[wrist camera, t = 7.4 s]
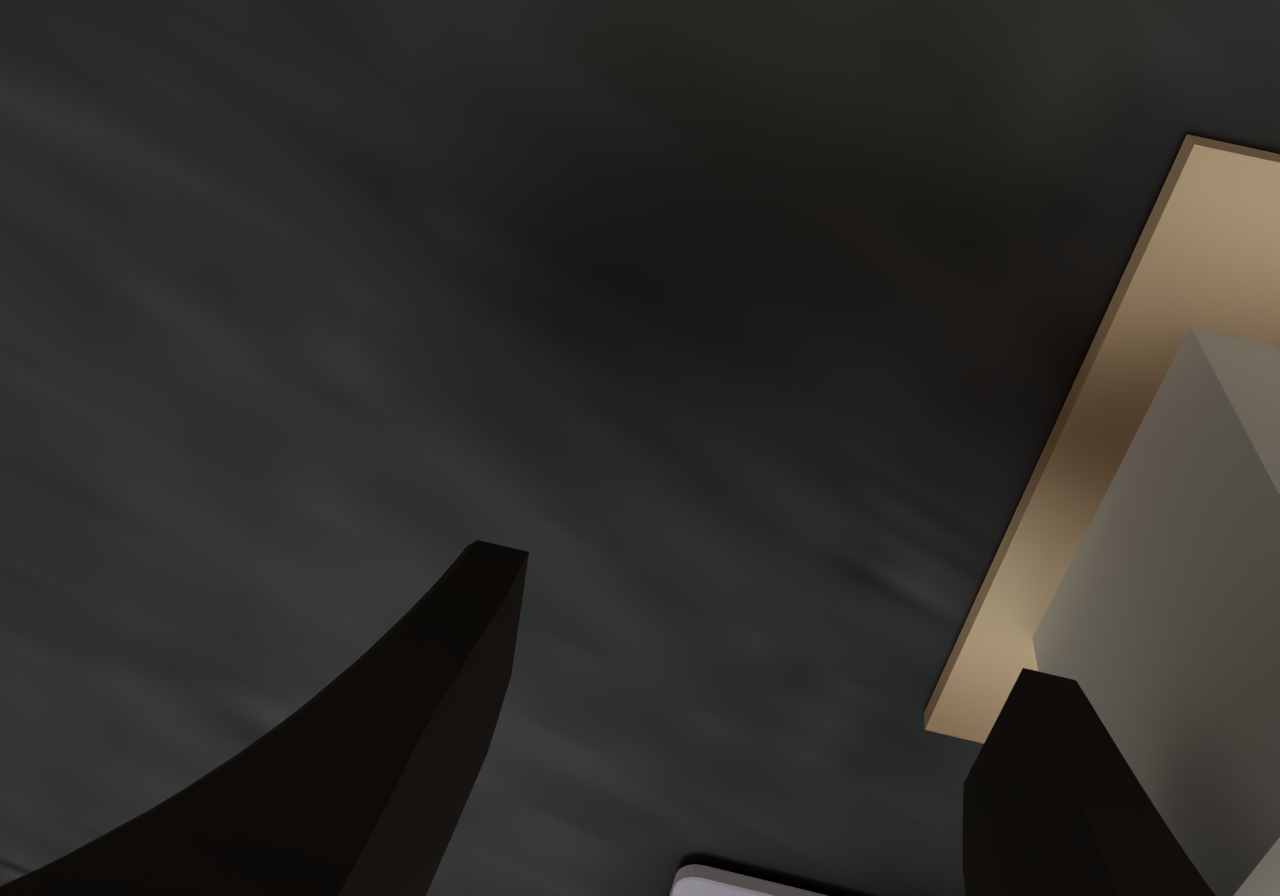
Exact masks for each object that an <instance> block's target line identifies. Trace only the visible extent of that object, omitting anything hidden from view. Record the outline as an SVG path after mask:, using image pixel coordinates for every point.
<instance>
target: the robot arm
mask: <svg viewBox="0 0 1280 896" xmlns="http://www.w3.org/2000/svg"><path fill="white" fill-rule="evenodd" d="M528 554H529V552H526V551H522V550H517V549H513V548H509V547H505V546H500V545H496V544H492V543H488V542H483V541H479V540H477V541H475V542H474V543H472V544H470V545H468V546H467V547H466V548H465V549H464V551H463V552H462V553H461V554H460V556H459V557H458V558H457V559H456V560H455V562H454V563H453V564H452V565H451V566H450V567H449V569H448V570H447V571H446V572H445V573H444V574H443V575H442V577H441V578H440V579H439V580H438V581H437V582H436V583H435V584H434V585H433V586H432V588H431V589H430V590H429V591H428V592H427V593H426V594H425V595H424V596H423V597H422V598H421V599H420V600H419V601H418V602H417V603H416V604H415V605H414V606H413V607H412V608H411V610H410V611H409V612H408V613H407V614H406V615H405V616H403V617H402V618H401V619H400V620H399V621H398V622H397V623H396V624H395V625H394V626H393V627H392V628H391V629H390V630H389V631H388V632H387V633H386V634H385V635H384V636H383V637H382V638H381V639H379V640H378V641H377V642H376V643H375V644H374V645H373V646H372V647H371V648H370V649H369V650H368V651H367V652H366V653H365V654H364V655H362V656H361V657H360V658H359V659H358V660H357V661H356V662H355V663H353V664H352V665H351V666H350V667H349V668H348V669H346V670H345V671H344V672H343V673H342V674H340V675H339V676H338V677H337V678H336V679H335V680H333V681H332V682H331V683H330V684H329V685H328V686H326V687H325V688H324V689H323V690H322V691H320V692H319V693H318V694H317V695H316V696H315V697H313V698H312V699H311V700H310V701H309V702H307V703H306V704H305V705H304V706H302V707H301V708H300V709H298V710H297V711H296V712H295V713H293V714H292V715H291V716H289V717H288V718H287V719H286V720H284V721H283V722H282V723H280V724H279V725H278V726H276V727H275V728H274V729H272V730H271V731H270V732H268V733H267V734H265V735H264V736H263V737H261V738H260V739H258V740H257V741H256V742H254V743H253V744H251V745H250V746H249V747H247V748H246V749H244V750H243V751H242V752H240V753H239V754H237V755H236V756H234V757H233V758H231V759H230V760H228V761H227V762H225V763H224V764H222V765H221V766H219V767H217V768H216V769H214V770H213V771H211V772H210V773H208V774H207V775H205V776H204V777H202V778H201V779H199V780H197V781H196V782H194V783H193V784H191V785H190V786H188V787H187V788H185V789H184V790H182V791H180V792H179V793H177V794H175V795H174V796H172V797H170V798H169V799H167V800H165V801H164V802H162V803H160V804H159V805H157V806H155V807H154V808H152V809H150V810H149V811H147V812H145V813H143V814H141V815H139V816H138V817H136V818H134V819H132V820H130V821H128V822H127V823H125V824H123V825H121V826H119V827H117V828H115V829H114V830H112V831H110V832H108V833H106V834H104V835H103V836H101V837H99V838H97V839H95V840H93V841H92V842H90V843H88V844H86V845H84V846H82V847H81V848H79V849H77V850H75V851H73V852H71V853H69V854H68V855H66V856H64V857H62V858H60V859H58V860H56V861H54V862H52V863H50V864H48V865H45V866H43V867H41V868H39V869H37V870H35V871H33V872H30V873H28V874H26V875H24V876H22V877H20V878H17V879H15V880H13V881H11V882H9V883H6V884H4V885H2V886H0V896H426V894H427V892H428V889H429V887H430V885H431V882H432V880H433V878H434V875H435V873H436V871H437V869H438V866H439V864H440V862H441V859H442V857H443V855H444V852H445V850H446V848H447V846H448V843H449V841H450V839H451V836H452V834H453V832H454V829H455V827H456V825H457V823H458V820H459V818H460V816H461V813H462V811H463V809H464V806H465V804H466V802H467V799H468V797H469V795H470V792H471V790H472V788H473V785H474V783H475V781H476V779H477V776H478V774H479V772H480V769H481V767H482V764H483V762H484V760H485V757H486V755H487V752H488V749H489V746H490V743H491V740H492V736H493V733H494V730H495V727H496V724H497V720H498V717H499V714H500V711H501V707H502V704H503V701H504V697H505V694H506V691H507V687H508V684H509V681H510V678H511V673H512V666H513V659H514V652H515V645H516V638H517V631H518V624H519V617H520V610H521V603H522V596H523V589H524V582H525V575H526V568H527V561H528ZM963 875H964V884H965V893H966V896H1216V895H1215V894H1214V893H1213V891H1212V890H1211V888H1210V887H1209V886H1208V884H1207V883H1206V882H1205V880H1204V879H1203V877H1202V876H1201V874H1200V873H1199V872H1198V870H1197V869H1196V867H1195V866H1194V864H1193V863H1192V862H1191V860H1190V859H1189V857H1188V856H1187V854H1186V853H1185V851H1184V850H1183V848H1182V847H1181V845H1180V844H1179V843H1178V841H1177V840H1176V838H1175V837H1174V835H1173V834H1172V832H1171V831H1170V829H1169V828H1168V826H1167V824H1166V823H1165V821H1164V820H1163V818H1162V817H1161V815H1160V814H1159V812H1158V811H1157V809H1156V808H1155V806H1154V805H1153V803H1152V801H1151V800H1150V798H1149V797H1148V795H1147V794H1146V792H1145V790H1144V789H1143V787H1142V786H1141V784H1140V783H1139V781H1138V779H1137V778H1136V776H1135V775H1134V773H1133V771H1132V770H1131V768H1130V767H1129V765H1128V763H1127V762H1126V760H1125V758H1124V757H1123V755H1122V754H1121V752H1120V750H1119V749H1118V747H1117V746H1116V744H1115V742H1114V741H1113V739H1112V737H1111V736H1110V734H1109V732H1108V731H1107V729H1106V727H1105V726H1104V724H1103V723H1102V721H1101V719H1100V718H1099V716H1098V714H1097V713H1096V711H1095V709H1094V708H1093V706H1092V705H1091V703H1090V701H1089V700H1088V698H1087V696H1086V695H1085V693H1084V692H1083V690H1082V689H1081V687H1080V685H1079V684H1078V682H1077V681H1076V680H1073V679H1069V678H1064V677H1060V676H1056V675H1052V674H1047V673H1043V672H1039V671H1035V670H1030V669H1026V668H1023V669H1022V671H1021V672H1020V674H1019V676H1018V678H1017V680H1016V682H1015V684H1014V686H1013V688H1012V690H1011V692H1010V694H1009V696H1008V698H1007V700H1006V702H1005V704H1004V706H1003V708H1002V710H1001V712H1000V714H999V716H998V718H997V720H996V721H995V723H994V725H993V727H992V729H991V731H990V733H989V735H988V737H987V739H986V741H985V743H984V745H983V747H982V749H981V751H980V753H979V755H978V757H977V759H976V761H975V763H974V765H973V767H972V768H971V770H970V772H969V774H968V776H967V778H966V780H965V782H964V793H963ZM669 896H828V895H824V894H820V893H816V892H812V891H808V890H804V889H800V888H795V887H791V886H787V885H783V884H779V883H775V882H771V881H767V880H763V879H758V878H754V877H750V876H746V875H742V874H738V873H734V872H730V871H726V870H721V869H717V868H713V867H709V866H705V865H698V864H692V865H687V866H685V867H683V868H681V869H679V870H678V872H677V873H676V875H675V879H674V882H673V885H672V888H671V892H670V895H669Z"/></svg>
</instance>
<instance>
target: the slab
mask: <svg viewBox="0 0 1280 896" xmlns="http://www.w3.org/2000/svg"><path fill="white" fill-rule="evenodd" d="M1032 640H1033V646H1034V651H1035V657H1036V662H1037V667H1038V671H1039V672H1043V673H1047V674H1052V675H1056V676H1060V677H1064V678H1069V679H1073V680H1076V681H1077V682H1078V684H1079V685H1080V687H1081V689H1082V690H1083V692H1084V693H1085V695H1086V696H1087V698H1088V700H1089V701H1090V703H1091V705H1092V706H1093V708H1094V709H1095V711H1096V713H1097V714H1098V716H1099V718H1100V719H1101V721H1102V723H1103V724H1104V726H1105V727H1106V729H1107V731H1108V732H1109V734H1110V736H1111V737H1112V739H1113V741H1114V742H1115V744H1116V746H1117V747H1118V749H1119V750H1120V752H1121V754H1122V755H1123V757H1124V758H1125V760H1126V762H1127V763H1128V765H1129V767H1130V768H1131V770H1132V771H1133V773H1134V775H1135V776H1136V778H1137V779H1138V781H1139V783H1140V784H1141V786H1142V787H1143V789H1144V790H1145V792H1146V794H1147V795H1148V797H1149V798H1150V800H1151V801H1152V803H1153V805H1154V806H1155V808H1156V809H1157V811H1158V812H1159V814H1160V815H1161V817H1162V818H1163V820H1164V821H1165V823H1166V824H1167V826H1168V828H1169V829H1170V831H1171V832H1172V834H1173V835H1174V837H1175V838H1176V840H1177V841H1178V843H1179V844H1180V845H1181V847H1182V848H1183V850H1184V851H1185V853H1186V854H1187V856H1188V857H1189V859H1190V860H1191V862H1192V863H1193V864H1194V866H1195V867H1196V869H1197V870H1198V872H1199V873H1200V874H1201V876H1202V877H1203V879H1204V880H1205V882H1206V883H1207V884H1208V886H1209V887H1210V888H1211V890H1212V891H1213V893H1214V894H1215V895H1216V896H1280V346H1276V345H1271V344H1267V343H1262V342H1258V341H1253V340H1249V339H1244V338H1240V337H1235V336H1231V335H1226V334H1222V333H1217V332H1213V331H1208V330H1204V329H1199V328H1195V327H1190V329H1189V331H1188V332H1187V334H1186V336H1185V338H1184V340H1183V342H1182V344H1181V346H1180V348H1179V350H1178V352H1177V354H1176V356H1175V358H1174V360H1173V362H1172V364H1171V366H1170V368H1169V370H1168V372H1167V374H1166V376H1165V378H1164V380H1163V382H1162V384H1161V386H1160V388H1159V390H1158V392H1157V394H1156V396H1155V398H1154V400H1153V402H1152V403H1151V405H1150V407H1149V409H1148V411H1147V413H1146V415H1145V417H1144V419H1143V421H1142V423H1141V425H1140V427H1139V429H1138V431H1137V433H1136V435H1135V437H1134V439H1133V441H1132V443H1131V445H1130V447H1129V449H1128V451H1127V453H1126V455H1125V457H1124V459H1123V461H1122V463H1121V465H1120V467H1119V469H1118V471H1117V473H1116V474H1115V476H1114V478H1113V480H1112V482H1111V484H1110V486H1109V488H1108V490H1107V492H1106V494H1105V496H1104V498H1103V500H1102V502H1101V504H1100V506H1099V508H1098V510H1097V512H1096V514H1095V516H1094V518H1093V520H1092V522H1091V524H1090V526H1089V528H1088V530H1087V532H1086V534H1085V536H1084V538H1083V540H1082V542H1081V543H1080V545H1079V547H1078V549H1077V551H1076V553H1075V555H1074V557H1073V559H1072V561H1071V563H1070V565H1069V567H1068V569H1067V571H1066V573H1065V575H1064V577H1063V579H1062V581H1061V583H1060V585H1059V587H1058V589H1057V591H1056V593H1055V595H1054V597H1053V599H1052V601H1051V603H1050V605H1049V607H1048V609H1047V611H1046V613H1045V614H1044V616H1043V618H1042V620H1041V622H1040V624H1039V626H1038V628H1037V630H1036V632H1035V634H1034V636H1033V638H1032Z"/></svg>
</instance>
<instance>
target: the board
mask: <svg viewBox="0 0 1280 896" xmlns="http://www.w3.org/2000/svg"><path fill="white" fill-rule="evenodd" d="M1190 327H1195V328H1199V329H1204V330H1208V331H1213V332H1217V333H1222V334H1226V335H1231V336H1235V337H1240V338H1244V339H1249V340H1253V341H1258V342H1262V343H1267V344H1271V345H1276V346H1280V154H1277V153H1272V152H1267V151H1263V150H1258V149H1253V148H1249V147H1244V146H1239V145H1235V144H1230V143H1226V142H1221V141H1216V140H1212V139H1207V138H1202V137H1198V136H1193V135H1188V134H1187V135H1186V137H1185V139H1184V141H1183V144H1182V146H1181V148H1180V150H1179V152H1178V155H1177V157H1176V159H1175V161H1174V163H1173V166H1172V168H1171V170H1170V172H1169V174H1168V177H1167V179H1166V181H1165V183H1164V185H1163V188H1162V190H1161V192H1160V194H1159V196H1158V199H1157V201H1156V203H1155V205H1154V207H1153V210H1152V212H1151V214H1150V216H1149V218H1148V221H1147V223H1146V225H1145V227H1144V229H1143V232H1142V234H1141V236H1140V238H1139V241H1138V243H1137V245H1136V247H1135V249H1134V252H1133V254H1132V256H1131V258H1130V260H1129V263H1128V265H1127V267H1126V269H1125V271H1124V274H1123V276H1122V278H1121V280H1120V282H1119V285H1118V287H1117V289H1116V291H1115V293H1114V296H1113V298H1112V300H1111V302H1110V304H1109V307H1108V309H1107V311H1106V313H1105V315H1104V318H1103V320H1102V322H1101V324H1100V326H1099V329H1098V331H1097V333H1096V335H1095V337H1094V340H1093V342H1092V344H1091V346H1090V348H1089V351H1088V353H1087V355H1086V357H1085V359H1084V362H1083V364H1082V366H1081V368H1080V370H1079V373H1078V375H1077V377H1076V379H1075V381H1074V384H1073V386H1072V388H1071V390H1070V392H1069V395H1068V397H1067V399H1066V401H1065V403H1064V406H1063V408H1062V410H1061V412H1060V414H1059V417H1058V419H1057V421H1056V423H1055V425H1054V428H1053V430H1052V432H1051V434H1050V437H1049V439H1048V441H1047V443H1046V445H1045V448H1044V450H1043V452H1042V454H1041V456H1040V459H1039V461H1038V463H1037V465H1036V467H1035V470H1034V472H1033V474H1032V476H1031V478H1030V481H1029V483H1028V485H1027V487H1026V489H1025V492H1024V494H1023V496H1022V498H1021V500H1020V503H1019V505H1018V507H1017V509H1016V511H1015V514H1014V516H1013V518H1012V520H1011V522H1010V525H1009V527H1008V529H1007V531H1006V533H1005V536H1004V538H1003V540H1002V542H1001V544H1000V547H999V549H998V551H997V553H996V555H995V558H994V560H993V562H992V564H991V566H990V569H989V571H988V573H987V575H986V577H985V580H984V582H983V584H982V586H981V588H980V591H979V593H978V595H977V597H976V599H975V602H974V604H973V606H972V608H971V610H970V613H969V615H968V617H967V619H966V621H965V624H964V626H963V628H962V630H961V633H960V635H959V637H958V639H957V641H956V644H955V646H954V648H953V650H952V652H951V655H950V657H949V659H948V661H947V663H946V666H945V668H944V670H943V672H942V674H941V677H940V679H939V681H938V683H937V685H936V688H935V690H934V692H933V694H932V696H931V699H930V701H929V703H928V705H927V707H926V710H925V712H924V724H925V730H928V731H932V732H937V733H941V734H945V735H949V736H953V737H958V738H962V739H966V740H970V741H975V742H979V743H983V744H984V743H985V741H986V739H987V737H988V735H989V733H990V731H991V729H992V727H993V725H994V723H995V721H996V720H997V718H998V716H999V714H1000V712H1001V710H1002V708H1003V706H1004V704H1005V702H1006V700H1007V698H1008V696H1009V694H1010V692H1011V690H1012V688H1013V686H1014V684H1015V682H1016V680H1017V678H1018V676H1019V674H1020V672H1021V671H1022V669H1023V668H1026V669H1030V670H1035V671H1038V667H1037V662H1036V657H1035V651H1034V646H1033V640H1032V638H1033V636H1034V634H1035V632H1036V630H1037V628H1038V626H1039V624H1040V622H1041V620H1042V618H1043V616H1044V614H1045V613H1046V611H1047V609H1048V607H1049V605H1050V603H1051V601H1052V599H1053V597H1054V595H1055V593H1056V591H1057V589H1058V587H1059V585H1060V583H1061V581H1062V579H1063V577H1064V575H1065V573H1066V571H1067V569H1068V567H1069V565H1070V563H1071V561H1072V559H1073V557H1074V555H1075V553H1076V551H1077V549H1078V547H1079V545H1080V543H1081V542H1082V540H1083V538H1084V536H1085V534H1086V532H1087V530H1088V528H1089V526H1090V524H1091V522H1092V520H1093V518H1094V516H1095V514H1096V512H1097V510H1098V508H1099V506H1100V504H1101V502H1102V500H1103V498H1104V496H1105V494H1106V492H1107V490H1108V488H1109V486H1110V484H1111V482H1112V480H1113V478H1114V476H1115V474H1116V473H1117V471H1118V469H1119V467H1120V465H1121V463H1122V461H1123V459H1124V457H1125V455H1126V453H1127V451H1128V449H1129V447H1130V445H1131V443H1132V441H1133V439H1134V437H1135V435H1136V433H1137V431H1138V429H1139V427H1140V425H1141V423H1142V421H1143V419H1144V417H1145V415H1146V413H1147V411H1148V409H1149V407H1150V405H1151V403H1152V402H1153V400H1154V398H1155V396H1156V394H1157V392H1158V390H1159V388H1160V386H1161V384H1162V382H1163V380H1164V378H1165V376H1166V374H1167V372H1168V370H1169V368H1170V366H1171V364H1172V362H1173V360H1174V358H1175V356H1176V354H1177V352H1178V350H1179V348H1180V346H1181V344H1182V342H1183V340H1184V338H1185V336H1186V334H1187V332H1188V331H1189V329H1190Z"/></svg>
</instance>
